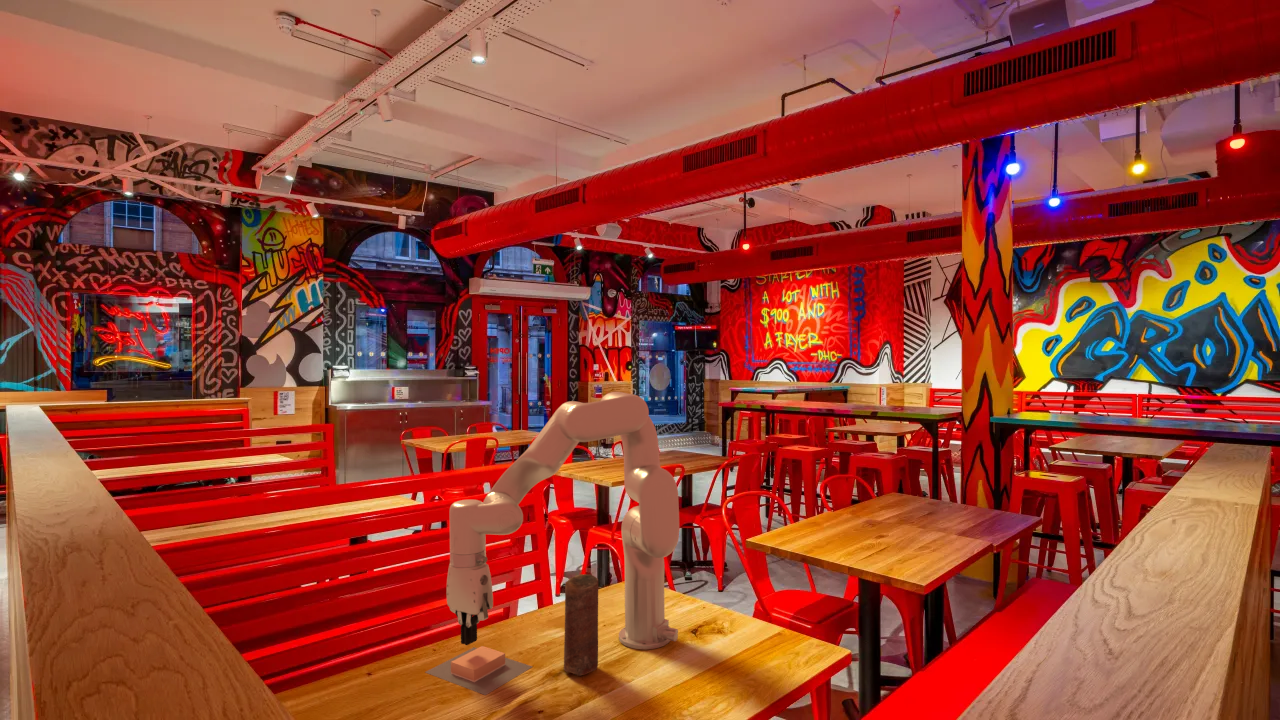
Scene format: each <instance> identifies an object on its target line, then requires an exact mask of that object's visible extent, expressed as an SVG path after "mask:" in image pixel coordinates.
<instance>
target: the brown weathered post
mask: <svg viewBox="0 0 1280 720" xmlns="http://www.w3.org/2000/svg"><path fill="white" fill-rule="evenodd" d="M564 583H565V587H564V591H565V592H564V594H565V595H564V641H563V642H564V643H563V644H564V646H563V647H564V648H563V649H564V650H563V669H564V671H565V672H566V673H571V674H573V675H574V676H578V677H581V676H585V675H587V674H589V673H591V672H593V671H596V670H597V669H598V666H599V579H598V578H597V576H595V575H593V574H584V573H583V574H582V573H581V574H577V575H574V576H572V577H570V578H569V579H567V580H566V581H565V582H564Z"/></svg>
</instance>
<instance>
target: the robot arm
mask: <svg viewBox="0 0 1280 720" xmlns="http://www.w3.org/2000/svg"><path fill="white" fill-rule="evenodd" d="M649 414H650V411H649V407H648V404H647V402H646V401H645V399H644V398H642V397H640V396H639V395H636V394H633V393H629V392H628V393H627V392H622V391H611V392H608V393H606V394H604V395H603V397H602V398H601V399H600V400H598V401H597V400H596V401H592V402H580V401H575V400H571V401H570V400H569V401H566V402H564V403H562V404H561V405H560V406H559V407H558V408H557V409H556V410H555V412H554V413H553V414H552V416H551V417H550V418H549V420H548V421H547V422H546V423H545V425H544V426H543V428H542V429H541V430H540V432H539V433H537V436H536V437H535V438H534V440H533V441H532V443H531V444H530V445H529V446H528V448H526V450H525V451H524V452H523V453H522V454H521V455H520V456H519V457H518V458H517V459H516V460H515V461H514V462H513V463H512V464H510V466H509V467H508V468H507V469H506V470H505V471H504V472H503V473H502V474H501V476H500V477H499V478H498V480H497V481H496V482H495V484H494V485H493V487H491V489H490V491H489V492H488V493H487V495H486V496H485V498H484V499H483V502H482V500H478V499H462V500H461V499H460V500H457V501H454V502H453V503H452V504H451V505H450V507H449V564H448V569H447V570H448V571H447V577H446V604H447V606H448V607H449V611H451V612H452V613H454V614H455V615H456V617H457V621H458V625H460V644H462V645H465V646H469V645H471V644H473V643H475V642H477V640H478V624H479V623H480V621H485V620H487V619H488V618H489V612H488V610H492V609H493V607H494V595H493V592H494V591H493V583H492V575H491V572H490V567H489V564H487V561H488V557H487V554H486V553H487V551H486V548H487V545H486V544H487V543H486V542H487V541H486V537H487V536H486V535H491V536H492V535H495V536H497V535H498V536H505V535H510V534H513V533H515V532H517V531H518V530H519V529H520V528H521V526H522V524H523V522H524V514H523V509H521V507H520V506H519V504H520V503H521V502H522V501H523V499H524V497H526V495H527V494H528V493H529V492H530V491H531V489H532V488H533V487H535V486H536V485H537V484H538V483H540V482H542V481H544V480H546V479H549V478H551V477H552V476H554V475H555V474H556V473H558V472H559V470H560V468H561V467H562V466H563V465H564V463H566V460H567V459H568V458H569V457H570V455H571V454H572V453H573V451H574V449H575V448H576V447H577V445H578V444H579V443H587V442H593V441H595V442H596V441H601V440H605V439H608V438H612V437H618V436H619V437H620V439H621V443H622V449H623V451H622V452H623V475H624V477H623V479H624V481H623V482H624V490H625V492H626V494H627V497H630V499H631V500H633V501H635V502H637V503H638V505H637V506H633V507H632V508H630V509H629V510H628V511H627V512H626V513H625V515H624V516H623V519H622V521H621V522H622V523H621V527H620V528H621V538H622V539H621V540H622V547H623V555H624V557H623V558H624V627H623V628H622V629H620V631H619V632H618V640H619V642H620V643H621V644H622V645H624V646H625V647H628V648H631V649H635V650H654V649H659V648H662V647H664V646H666V645H667V644H669V643H670V642H671V641H672V642H677V641H678V637H679V629H678V628H674V627H670V626H669V625H670V624H669V619H666V618H665V617H666V616H665V613H666V612H665V559H664V558H665V557H668V556H670V554H672V553H673V551H674V550H675V549H676V547H677V546H678V542H679V538H680V509H679V507H680V506H679V505H680V504H679V490H678V486H677V482H676V480H675V478H674V476H673V475H672V474H671V473H670V471H668V470H667V469H664V468H662V467H661V461H660V449H659V439H658V434H657V430H656V429H657V428H656V427H655V424H654V422H653V420H652V419H651V417H650V416H649Z"/></svg>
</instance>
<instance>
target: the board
mask: <svg viewBox="0 0 1280 720" xmlns="http://www.w3.org/2000/svg"><path fill="white" fill-rule="evenodd" d="M477 648H478V647H476V646H475V647H471V648H470V649H468V650H465V651H464V652H462V653H460V654H458V655H455V656H453V658H450V659H448V660H446V661H444V662H442V663H441V664H438V665H436V666H435V667H432V668H430V669H428V670H426V671H425V672H424V673H425V674H427V675H430V676H433V677H435V678H438V679H441V680H444V681H446V682H449V683H452V684H453V685H454V684H455V685H457V686H460V687H462V688H465V689H468V690H471V691H473V692H476V693H478V694H481V695H484V696H487V695H489V694H490V693H492V692H493V691H495V690H497V689H499V688H500V687H502V686H503V685H505V684H507V683H509V682H510V681H512V680H513V679H515V678H517V677H518V676H520V675H522V674H524V673H525V672H526V671H528V670H530V669H532V668H533V666H532V665H528V664H527V663H523V662H520V661H516V660H514V659H512V658H511V659H510V658H508V657H505V665H504V666H502V667H500V668H499V669H497V670H495V671H493V672H492V673H490V674H488V675H486V676H485V677H483V678H481V679H479V680H477V681H476V682H472V681H470V680H467V679H464V678H462V677H459V676H456V675H453V674H451V662H452V661H454V660H456V659H458V658H460V657H462V656H463V655H465V654H467V653H469V652H471V651H473V650H475V649H477Z"/></svg>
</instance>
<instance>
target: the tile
mask: <svg viewBox="0 0 1280 720" xmlns="http://www.w3.org/2000/svg"><path fill="white" fill-rule="evenodd" d="M476 648H477V649H475V650H473V651H471V652H469V653H467V654H465V655H463V656H462V657H460V658H458V659H456V660H454V661H452V662H451V674H453V675H456V676H459V677H462V678H464V679H467V680H470V681H472V682H476V681H477V680H479V679H481V678H483V677H485V676H486V675H488V674H490V673H492V672H493V671H495V670H497V669H499V668H500V667H502V666H504V665H505V658H506V653H505V652H502V651H499V650H496V649H492V648H490V647H487V646H483V645H481V646H480V647H476Z"/></svg>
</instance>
